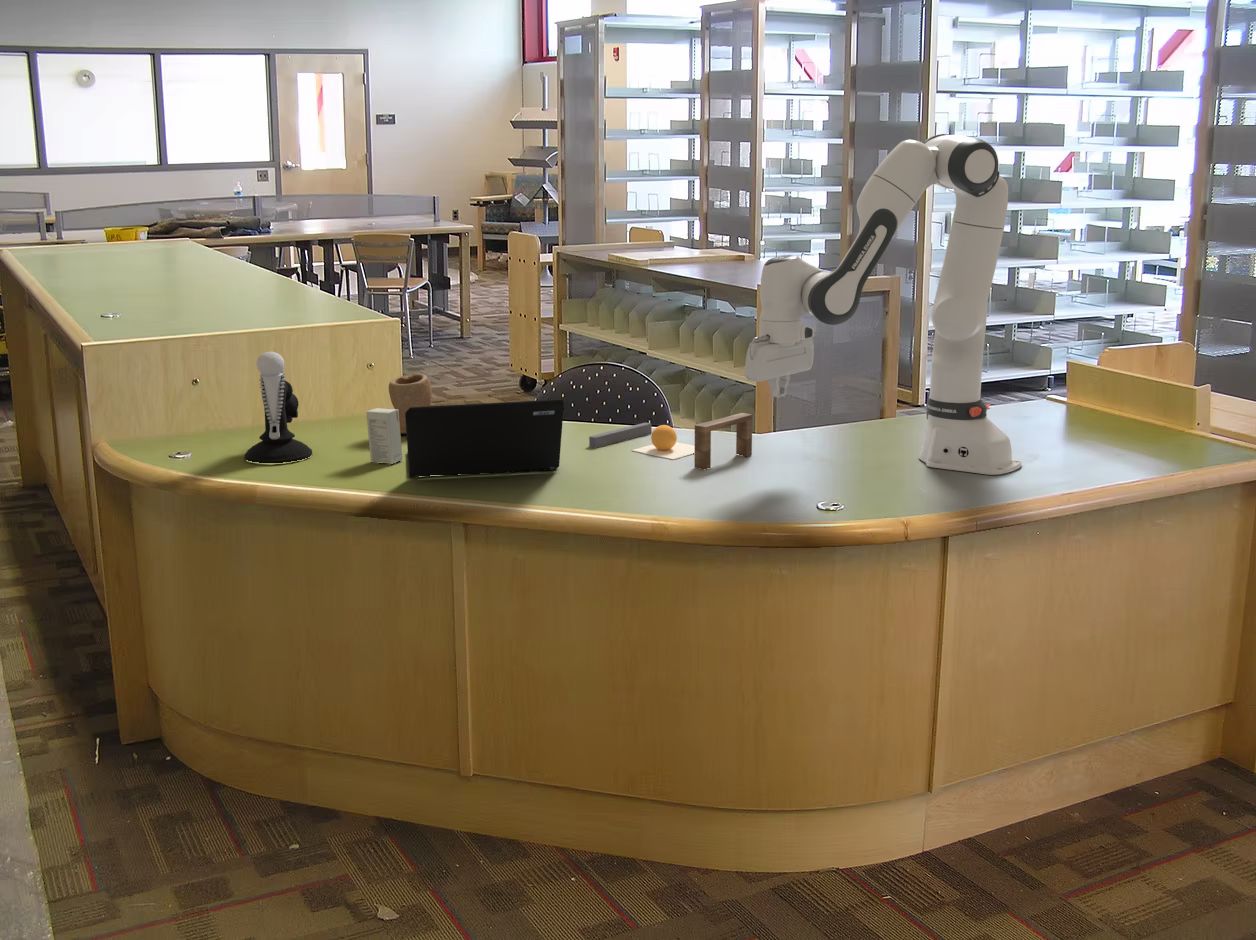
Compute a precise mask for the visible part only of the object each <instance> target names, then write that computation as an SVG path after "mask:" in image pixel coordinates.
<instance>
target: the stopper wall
mask: <svg viewBox="0 0 1256 940" xmlns="http://www.w3.org/2000/svg"><path fill="white" fill-rule="evenodd" d="M652 425H653V424H652V423H650V422H645V421H644V422H642V423H638V424H634V425H629V426H626V427H622V428H619V429H615V430H610V431H605V432H601V433H598V434H593V435H590V436H589V437H588V439H589V443H588V445H589V448H595V449H596V448H600V447H604V446H608V445H613V444H616V443H620V442H624V441H627V440H632V439H634V438H635V439H636V438H639V437H642V436H648V435H652V432H653V430H652Z"/></svg>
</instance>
